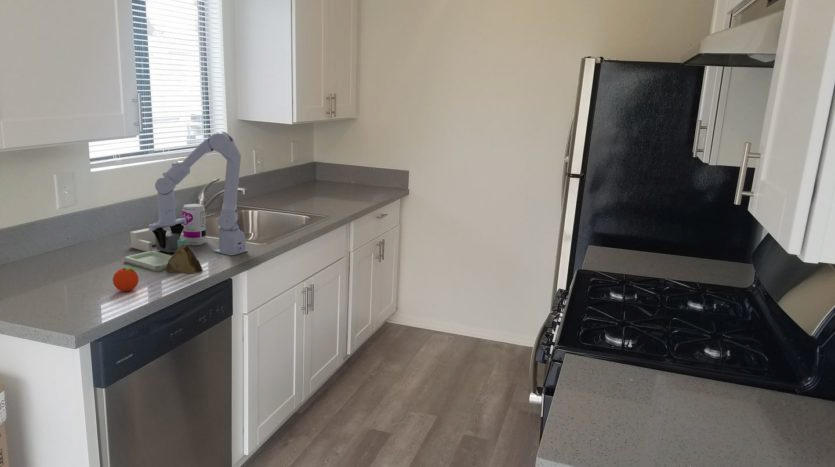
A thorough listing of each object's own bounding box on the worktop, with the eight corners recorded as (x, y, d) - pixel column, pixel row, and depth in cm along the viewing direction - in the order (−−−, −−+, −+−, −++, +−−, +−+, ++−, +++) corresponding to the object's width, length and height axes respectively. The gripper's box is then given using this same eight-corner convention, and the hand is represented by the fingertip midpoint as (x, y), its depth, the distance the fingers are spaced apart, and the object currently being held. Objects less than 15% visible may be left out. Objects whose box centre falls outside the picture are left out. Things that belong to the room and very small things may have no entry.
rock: (155, 266, 197) (175, 268, 192) (166, 242, 200) (185, 243, 195) (180, 279, 205) (200, 281, 200) (190, 256, 208) (210, 257, 203)
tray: (184, 264, 208) (184, 259, 208) (157, 271, 199) (156, 266, 198) (152, 255, 217) (152, 250, 216) (124, 262, 207) (123, 257, 207)
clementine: (142, 285, 185) (140, 263, 184) (144, 292, 179) (142, 269, 178) (113, 288, 182) (111, 266, 180) (114, 295, 176) (112, 272, 174)
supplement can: (191, 247, 229) (190, 208, 226) (179, 243, 234) (177, 205, 231) (210, 243, 236) (209, 205, 232) (198, 239, 240) (196, 202, 237)
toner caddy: (190, 252, 220) (189, 236, 218) (178, 255, 215) (177, 238, 214) (167, 246, 226) (166, 231, 224) (156, 249, 222) (155, 233, 220)
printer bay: (171, 247, 228) (170, 231, 227) (149, 252, 220) (148, 236, 219) (153, 242, 233) (152, 227, 232) (131, 247, 225) (130, 231, 224)
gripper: (176, 205, 226) (178, 240, 229) (141, 211, 214) (144, 248, 217) (189, 207, 223) (191, 243, 226) (154, 214, 210) (157, 251, 214)
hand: (169, 246), depth 221 cm, fingers closed on toner caddy, 5 cm apart
